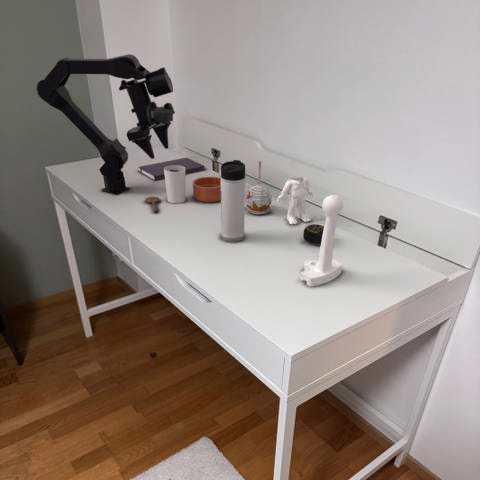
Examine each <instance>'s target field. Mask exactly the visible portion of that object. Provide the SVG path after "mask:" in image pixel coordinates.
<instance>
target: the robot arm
mask: <svg viewBox="0 0 480 480" xmlns="http://www.w3.org/2000/svg"><path fill="white" fill-rule="evenodd" d="M71 75H107V76H111V77H113V78H118V79H122V80H121V81H120V85H119V88H118V91H125V90H126V92H127V95H128V98H129V100H130V103H131V105H132V108H131V109H130V111H131V114H135V116H136V119H137V123H136V126H135V127H132V128H130V129H129V130H127V131H126V134H125V135H126V137H127V140H128V142H131V143H134V144H135V145H136V146H137V147H139V148H140V149H141V150H142V151H143V152H144V153H145V154H146V155H147V156H148V158H150V159H151V160H154V159H155V157H156V156H155V153H154V150H153V146H152V142H151V140H152V136H153V135H152V134H151V130H153V131H154V133H155V135H156V137H157V138H158V140H159V141H160V144H161V145H162V146H163V148H164V149H165V150H167V149H169V133H168V132H169V127H170V126H171V124H172V122H173V121H174V114H175V113H176V112H175V109H174V106H173V105H172V104H173V103H171V102H166V103H164V104H163V105H162V106H157V103H156V102H155V100H154V101H153V100H151V97H150V96H152V97H153V98H158V97H162V96H164V95H169V94H171V93H173V92H174V86H173V82H172V79H171V77H170V75H169V73H168V72H167V70H166V67H164V66H163V67H160V68H158V69H157V70H153V71H149V70H148V69H147V68H145V66H143V65H142V64H141V63H140V60H139V59H138V58H137V57H136V55H133V54H131V53H129V54H124V55H118V56H114V57H110V58H69V57H64V58H61V59H58V60H57V62H56V64H55V66H53V68H52V69H51V70H50V72H48V74H47V75H46V76H45V77H44V79H41V80H39V81H38V82H37V84H36V93H37V95H38V97H39V98H40V99H41V100H43V101H44V102H45V103H47V104H48V105H49V106H50V107H53V108H54V109H56V110H58V111H59V112H61V113H62V114H64V116H65V117H66V118H67V119H68V120H69V121H70V122H71V123H72V124H73V125H74V126H75V127H76V128H77V129H78V130H79V131H80V132H81V133H82V134H83V135H84V136H85V137H86V139H88V141H90V143H91V144H92V145H93V146H94V147H95V148H96V150H97V151H98V154H99V155H100V158H101V160H102V161H103V162H104V163H102V166H100V167H99V172H100V175H101V176H102V178H103V185H104V187H103V188H101V192H106V193H109V194H112V195H118V194H120V193H122V192H126V191H127V190H129V189H130V188H129V186H126V178H125V176H124V174H125V173H124V171H122V169H123V168H124V166H125V165H126V163H127V162H128V160H129V153H128V151H127V150H126V149H127V147H126V146H124V145H123V144H122V143H121V142H120V140H119V139H118V138H115V139H111V138H108V137H107V135H105V133H104V132H103V131H101V129H100V128H99V127H98V126H97V125H96V124H95V123H94V122H93V121H92V120H91V118H90V117H88V116H87V115H86V114H85V112H84V111H83V110H82V109H81V108H80V107H79V106H78V105H77V104H76V103H75V102H74V101H73V99H72V97H71V94H70V92H69V90H68V89H67V87H66V84H67V83H68V81H69V79H70V77H71ZM127 80H128V81H127Z"/></svg>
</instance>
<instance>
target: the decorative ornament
mask: <svg viewBox="0 0 480 480" xmlns="http://www.w3.org/2000/svg"><path fill="white" fill-rule="evenodd" d="M261 173H262V161H261V160H259V161H258V175H257V184H255V186H254V185H252V186H251V187H250V188H249V189H248V190H247V193H246V192H245V203H246V204H245V212H247V213H249V214H252V215H253V214H254V215H264V214H268V213H270V212H271V211H272V207H271V205H272V203H273V202H272V200H273V195H272V194H271V191H270V189H268V187H266V186H264V185H263V184H261V179H262V178H261V177H262V176H261V175H262V174H261Z"/></svg>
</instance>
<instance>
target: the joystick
mask: <svg viewBox="0 0 480 480" xmlns="http://www.w3.org/2000/svg"><path fill="white" fill-rule="evenodd" d="M343 208H344V201H343V199H342V198H341V197H340V196H339V195H336V194H330V195H328V196H326V197H325V198H324V199H323V201H322V204H321V209H322V211H323V213H324V214H325V220H324V225H323V226H324V231H323V236H322V242H321V245H320V247H319V254H318V259H307V260H306V261H304V270H303V271H301V272H300V281H303V282H304V281H305V282H306V286H308V287H310V288H311V287H316V286H321V285H323V284H326V283H329V282H330V281H331V282H332V281H333V280H335V279H336V278H337V277H338V276H339V275H341V273H342V269H343V263H342V262H341V261H338V260H336V259H333V256H334V255H333V254H334V247H335V246H334V244H335V235H336V234H335V233H336V225H337V217H338V215H340V214H341V213H342V211H343V210H344V209H343Z"/></svg>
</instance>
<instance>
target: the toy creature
mask: <svg viewBox="0 0 480 480" xmlns="http://www.w3.org/2000/svg"><path fill="white" fill-rule="evenodd" d="M310 188H311V186H310V182H309V180H308V178H307V177H302V176H301V177H293V178H289V179H288V180H286V181H285V184H284V185H283V188H282V190H281V191H280V194H279V195H278V197H277V199H276V202H277V203H279V202H280V200H282V199H283V198H284V197H286V196H287V195H288V197H287V198H288V207H287V213H286V214H287V215H286V220H287V221H288V224H289V225H297V224H298V223H299V222H298V221H297V219H299V220H301V221H303V222H304V223H309V222H312V219H311V218H309V217H308V215H306V206H307V203H306V196H307V197H314V195H313V193H314V192H313V191H311V190H310ZM288 193H289V194H288ZM296 211H297V214H296ZM295 215H296V217H297V219H296V218H295Z"/></svg>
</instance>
